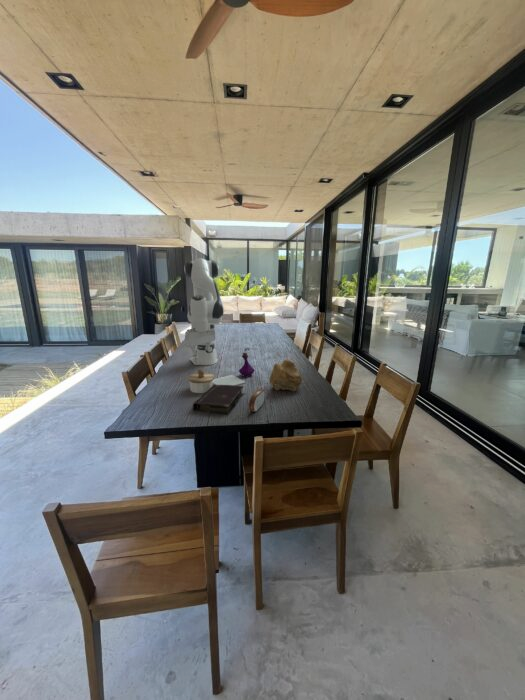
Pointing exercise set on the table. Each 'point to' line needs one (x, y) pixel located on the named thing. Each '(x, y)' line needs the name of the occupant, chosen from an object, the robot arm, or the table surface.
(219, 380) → the trivet
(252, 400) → the tin
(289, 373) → the rough brown rock
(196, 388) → the bowl
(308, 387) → the table surface
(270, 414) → the table surface
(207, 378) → the lid
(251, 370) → the perfume bottle
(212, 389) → the diary
